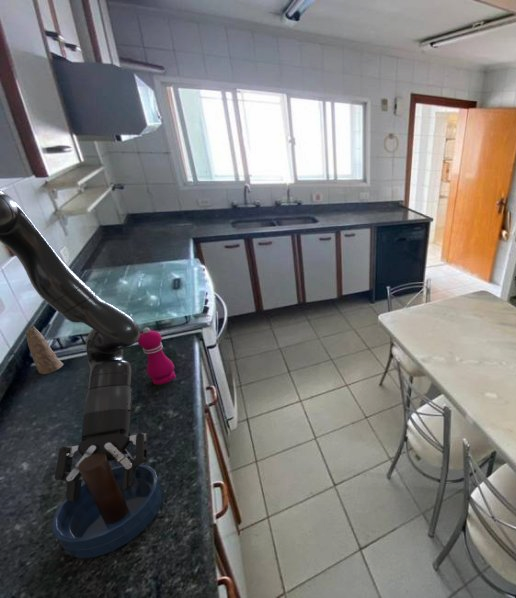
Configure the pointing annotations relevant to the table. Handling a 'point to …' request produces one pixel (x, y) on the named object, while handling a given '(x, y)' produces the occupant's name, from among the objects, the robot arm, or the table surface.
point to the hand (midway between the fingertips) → (101, 495)
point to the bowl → (90, 525)
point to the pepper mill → (156, 357)
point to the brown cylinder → (103, 487)
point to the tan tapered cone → (42, 352)
